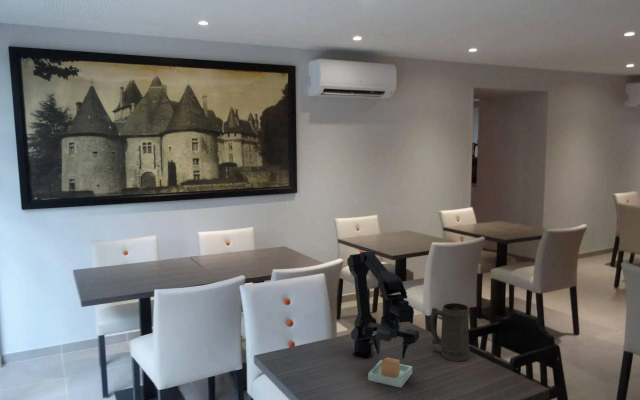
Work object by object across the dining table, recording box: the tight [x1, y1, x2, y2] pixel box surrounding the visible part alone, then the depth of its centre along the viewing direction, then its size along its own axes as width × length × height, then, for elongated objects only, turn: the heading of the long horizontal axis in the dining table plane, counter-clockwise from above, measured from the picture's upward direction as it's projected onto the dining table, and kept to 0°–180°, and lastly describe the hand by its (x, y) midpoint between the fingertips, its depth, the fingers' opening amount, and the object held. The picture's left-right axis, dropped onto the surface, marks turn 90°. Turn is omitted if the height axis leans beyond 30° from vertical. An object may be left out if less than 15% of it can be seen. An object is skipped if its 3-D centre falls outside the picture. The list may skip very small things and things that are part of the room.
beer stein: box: [428, 302, 471, 362], centre depth 185 cm, size 15×11×20 cm
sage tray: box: [367, 359, 413, 389], centre depth 168 cm, size 12×12×2 cm
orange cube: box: [381, 357, 401, 378], centre depth 168 cm, size 5×5×5 cm
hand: (390, 356), depth 167 cm, fingers open, 9 cm apart
